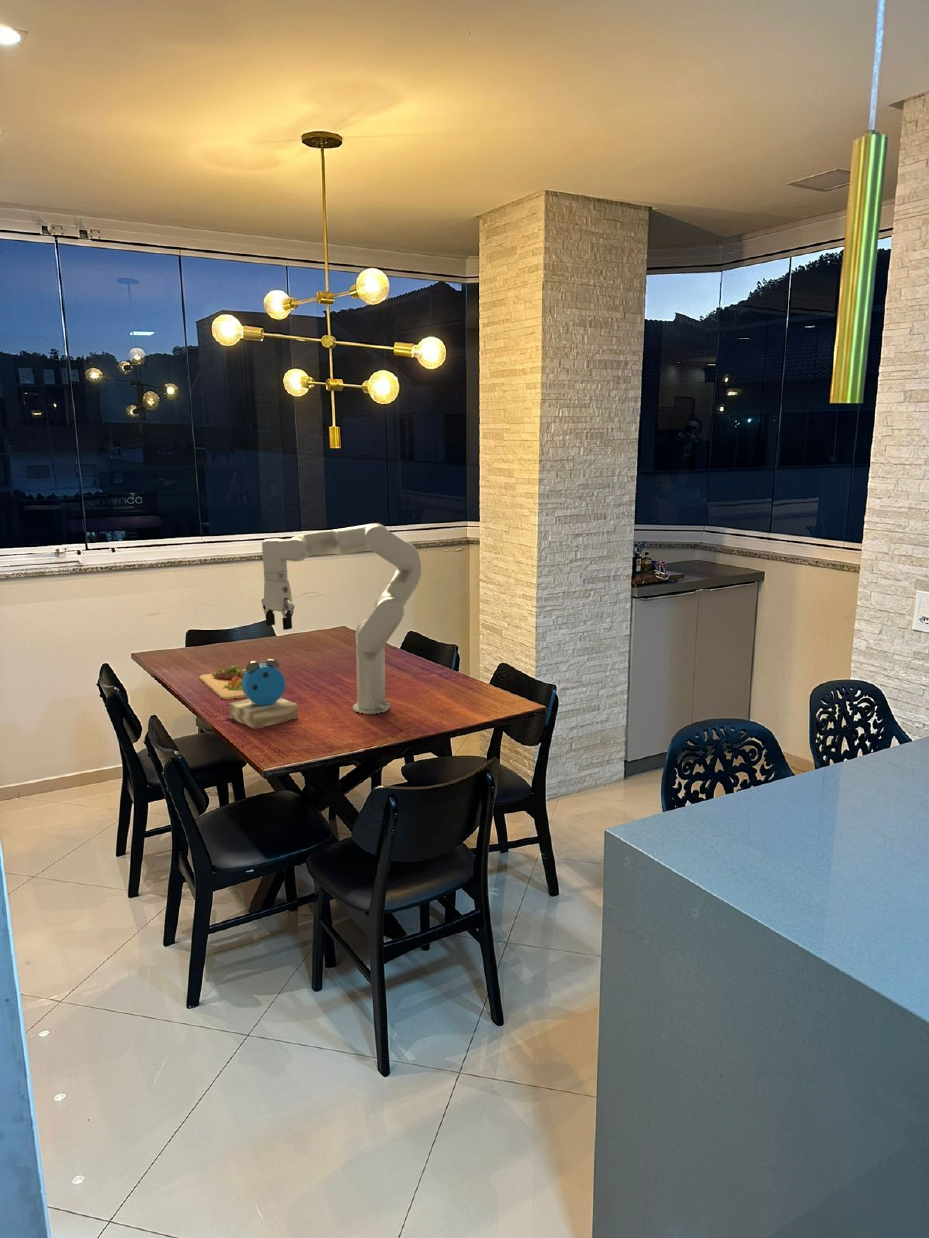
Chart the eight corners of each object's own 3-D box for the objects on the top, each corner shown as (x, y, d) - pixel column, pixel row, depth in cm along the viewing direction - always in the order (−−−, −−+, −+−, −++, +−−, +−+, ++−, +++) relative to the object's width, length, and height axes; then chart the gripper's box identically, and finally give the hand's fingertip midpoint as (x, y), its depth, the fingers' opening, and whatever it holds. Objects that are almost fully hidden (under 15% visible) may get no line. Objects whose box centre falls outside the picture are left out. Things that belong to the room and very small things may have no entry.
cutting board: (286, 692, 315) (286, 673, 314) (223, 702, 303) (222, 681, 302) (257, 671, 345) (256, 653, 343) (198, 679, 333) (197, 660, 331)
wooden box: (297, 718, 283) (297, 703, 282) (255, 729, 272) (254, 714, 271) (271, 707, 295) (270, 693, 294) (229, 717, 284) (228, 703, 283)
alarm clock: (280, 698, 288) (278, 655, 285) (286, 703, 283) (284, 659, 280) (241, 704, 282) (239, 660, 279) (247, 709, 276) (245, 664, 273)
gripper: (300, 577, 277) (303, 628, 280) (270, 572, 289) (273, 622, 292) (281, 580, 272) (284, 632, 275) (251, 575, 283) (254, 625, 287)
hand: (279, 627), depth 284 cm, fingers open, 9 cm apart
